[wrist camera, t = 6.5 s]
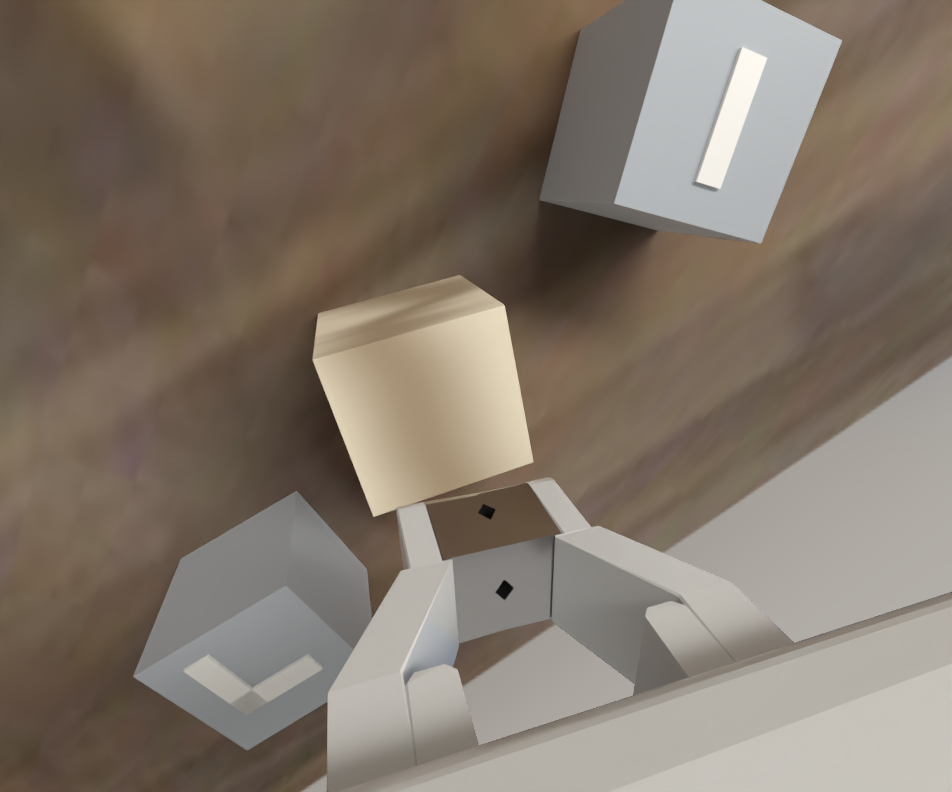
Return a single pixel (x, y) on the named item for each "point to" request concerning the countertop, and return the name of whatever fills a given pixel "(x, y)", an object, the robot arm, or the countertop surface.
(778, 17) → the grey block
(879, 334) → the countertop surface
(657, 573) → the robot arm
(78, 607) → the countertop surface
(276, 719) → the grey block
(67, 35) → the countertop surface
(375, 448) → the maple block
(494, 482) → the countertop surface
